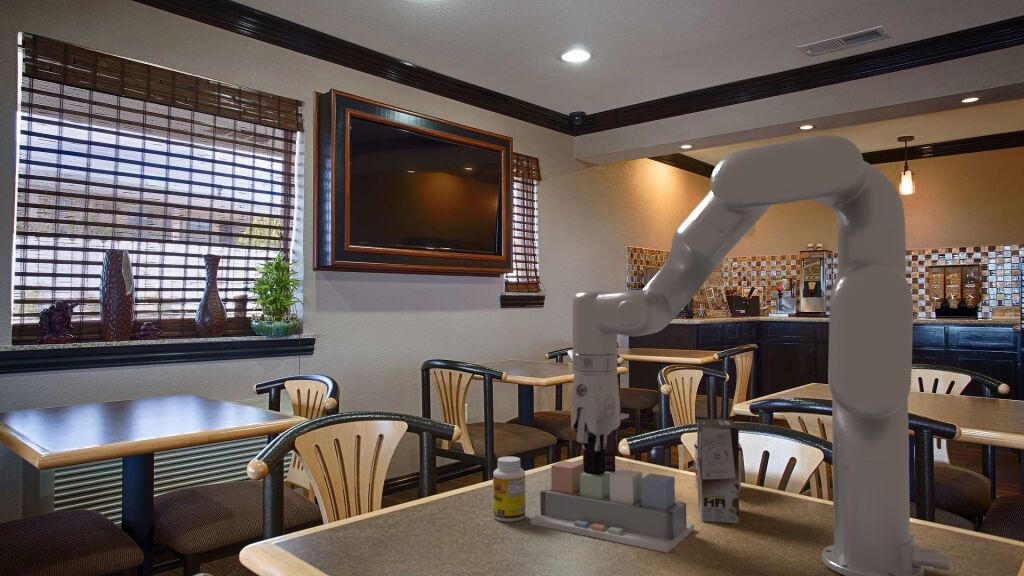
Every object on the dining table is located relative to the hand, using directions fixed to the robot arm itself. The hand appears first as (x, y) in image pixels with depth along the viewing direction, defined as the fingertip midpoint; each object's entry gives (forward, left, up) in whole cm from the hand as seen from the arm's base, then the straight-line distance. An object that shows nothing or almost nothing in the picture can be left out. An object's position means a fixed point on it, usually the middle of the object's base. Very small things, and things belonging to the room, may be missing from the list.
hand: (594, 472), depth 115 cm
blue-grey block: (-11, 0, -4) cm, 12 cm away
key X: (-6, 0, -4) cm, 7 cm away
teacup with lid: (-12, -31, -9) cm, 34 cm away
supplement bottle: (+14, +5, -9) cm, 17 cm away
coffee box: (-16, -16, -9) cm, 24 cm away
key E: (0, 0, -5) cm, 5 cm away
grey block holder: (-3, 0, -9) cm, 9 cm away
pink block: (+5, 0, -4) cm, 7 cm away
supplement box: (+10, -22, -9) cm, 26 cm away
